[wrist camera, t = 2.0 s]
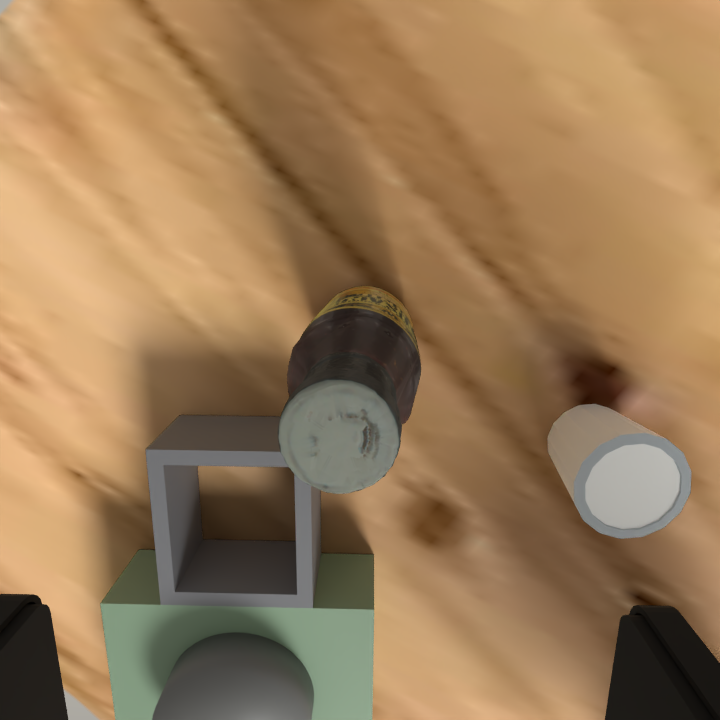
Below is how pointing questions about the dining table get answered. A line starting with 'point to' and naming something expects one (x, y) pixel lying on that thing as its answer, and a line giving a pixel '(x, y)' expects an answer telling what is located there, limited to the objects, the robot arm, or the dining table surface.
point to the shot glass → (618, 471)
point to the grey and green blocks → (236, 600)
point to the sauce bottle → (350, 391)
